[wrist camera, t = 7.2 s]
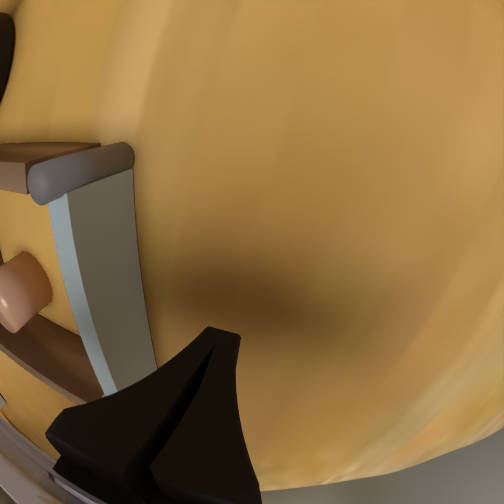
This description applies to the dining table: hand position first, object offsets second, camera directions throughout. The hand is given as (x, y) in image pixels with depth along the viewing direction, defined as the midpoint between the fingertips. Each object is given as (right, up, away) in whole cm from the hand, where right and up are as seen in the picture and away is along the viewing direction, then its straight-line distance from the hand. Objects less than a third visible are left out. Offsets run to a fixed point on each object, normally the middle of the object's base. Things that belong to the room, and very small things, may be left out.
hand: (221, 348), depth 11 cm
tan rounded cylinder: (-15, +2, +6) cm, 16 cm away
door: (-5, +2, +3) cm, 6 cm away
